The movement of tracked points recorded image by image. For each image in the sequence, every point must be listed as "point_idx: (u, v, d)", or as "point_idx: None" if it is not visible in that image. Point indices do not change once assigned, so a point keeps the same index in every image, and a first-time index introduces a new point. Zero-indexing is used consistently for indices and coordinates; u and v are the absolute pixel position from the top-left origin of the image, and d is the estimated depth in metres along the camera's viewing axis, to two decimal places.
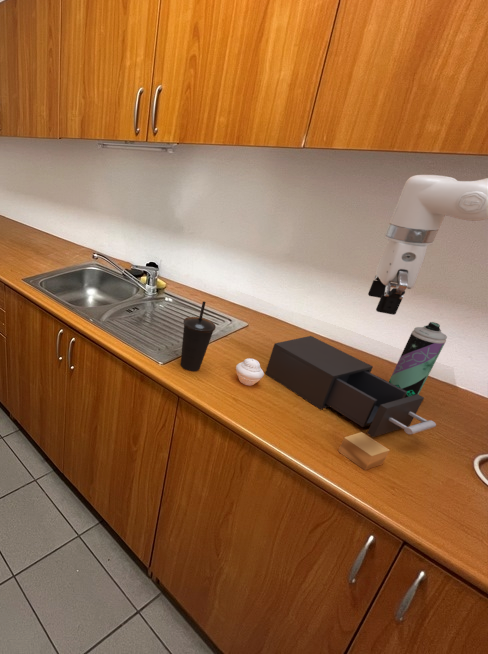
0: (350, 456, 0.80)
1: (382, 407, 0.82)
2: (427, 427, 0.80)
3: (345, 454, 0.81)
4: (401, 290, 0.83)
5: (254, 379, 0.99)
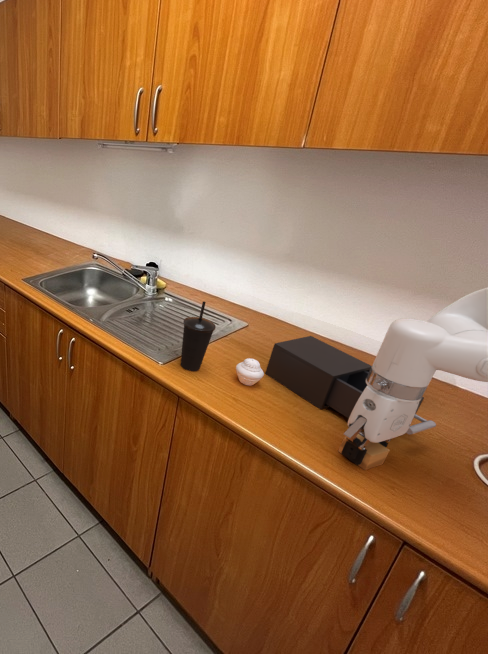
0: None
1: None
2: (427, 427, 0.80)
3: None
4: (349, 439, 0.76)
5: (254, 379, 0.99)
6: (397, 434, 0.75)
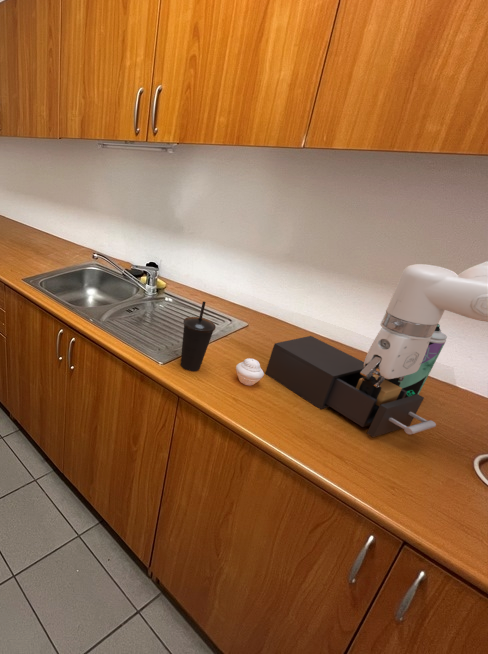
0: None
1: (382, 407, 0.82)
2: (427, 427, 0.80)
3: None
4: (365, 377, 0.83)
5: (254, 379, 0.99)
6: (409, 372, 0.82)
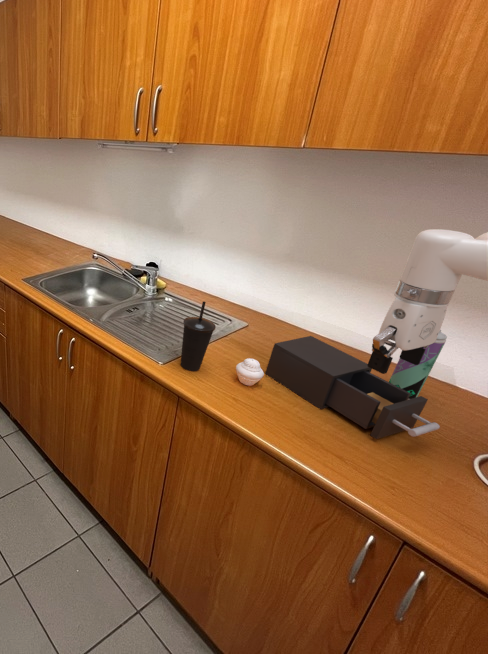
0: None
1: (385, 409, 0.81)
2: (431, 429, 0.80)
3: None
4: (377, 345, 0.79)
5: (254, 379, 0.99)
6: (426, 343, 0.79)
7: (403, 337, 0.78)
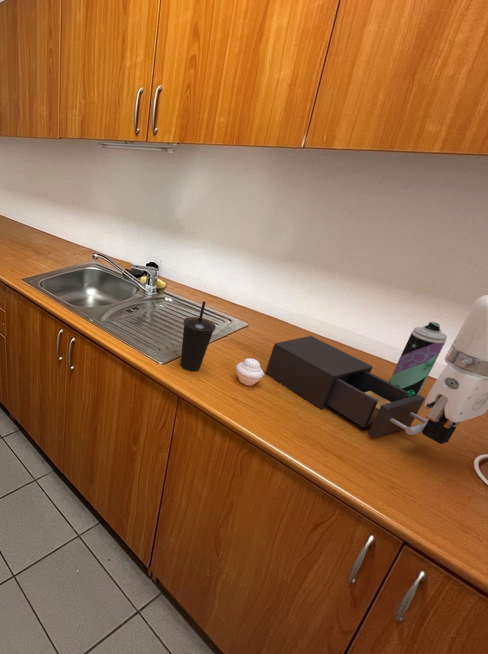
0: None
1: (383, 407, 0.82)
2: None
3: None
4: None
5: (254, 379, 0.99)
6: (477, 414, 0.73)
7: (455, 409, 0.71)
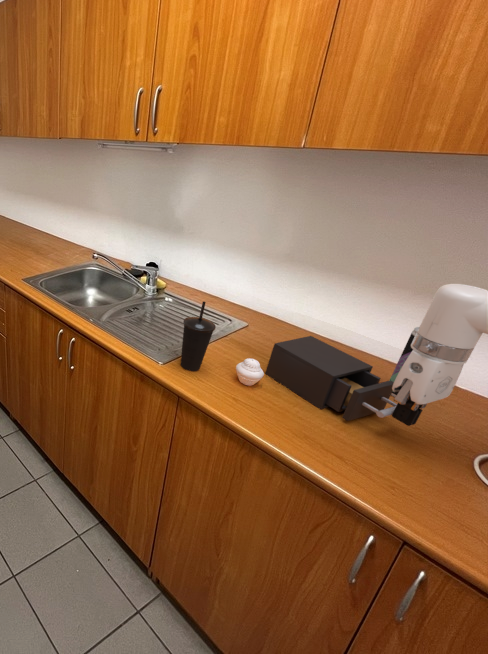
0: None
1: (355, 392, 0.86)
2: None
3: None
4: None
5: (254, 379, 0.99)
6: (441, 397, 0.78)
7: (419, 392, 0.76)
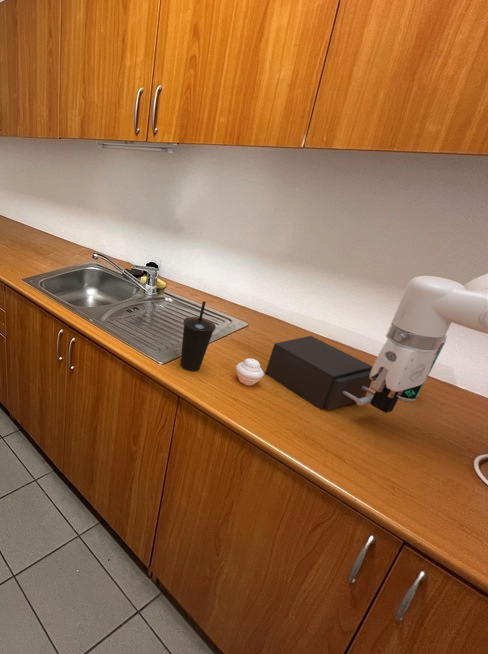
0: None
1: (336, 381, 0.90)
2: None
3: None
4: None
5: (254, 379, 0.99)
6: (415, 384, 0.82)
7: (394, 379, 0.80)
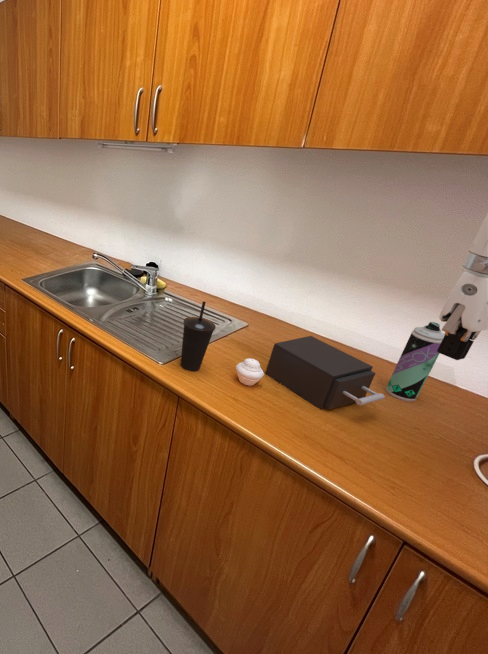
0: None
1: (336, 381, 0.90)
2: (376, 399, 0.88)
3: None
4: None
5: (254, 379, 0.99)
6: None
7: (472, 316, 0.68)
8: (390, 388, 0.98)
